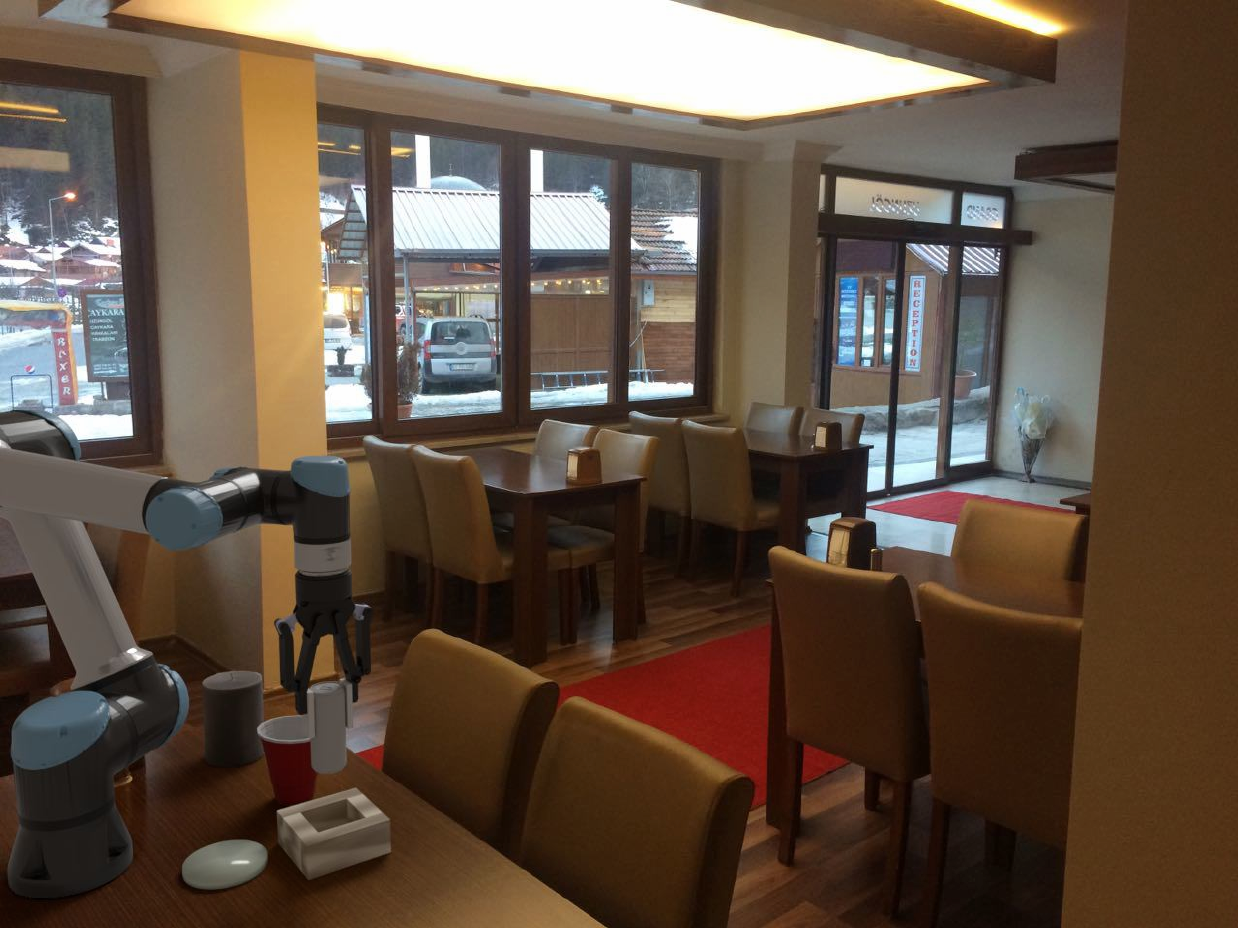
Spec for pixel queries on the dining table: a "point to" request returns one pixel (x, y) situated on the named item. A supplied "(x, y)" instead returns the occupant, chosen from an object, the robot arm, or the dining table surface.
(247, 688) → the pillar candle
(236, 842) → the pale green cabochon
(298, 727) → the plastic cup
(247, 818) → the dining table surface
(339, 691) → the beverage can
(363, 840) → the birch sleeve
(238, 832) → the dining table surface
